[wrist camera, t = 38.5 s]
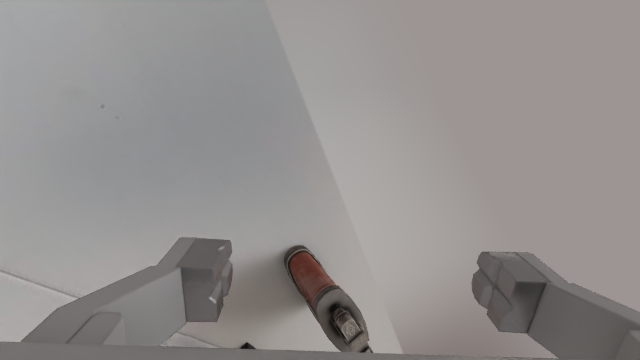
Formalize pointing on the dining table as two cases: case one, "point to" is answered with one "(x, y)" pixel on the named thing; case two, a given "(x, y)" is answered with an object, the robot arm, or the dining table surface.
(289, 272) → the lighter
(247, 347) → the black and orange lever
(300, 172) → the dining table surface
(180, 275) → the robot arm
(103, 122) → the dining table surface
